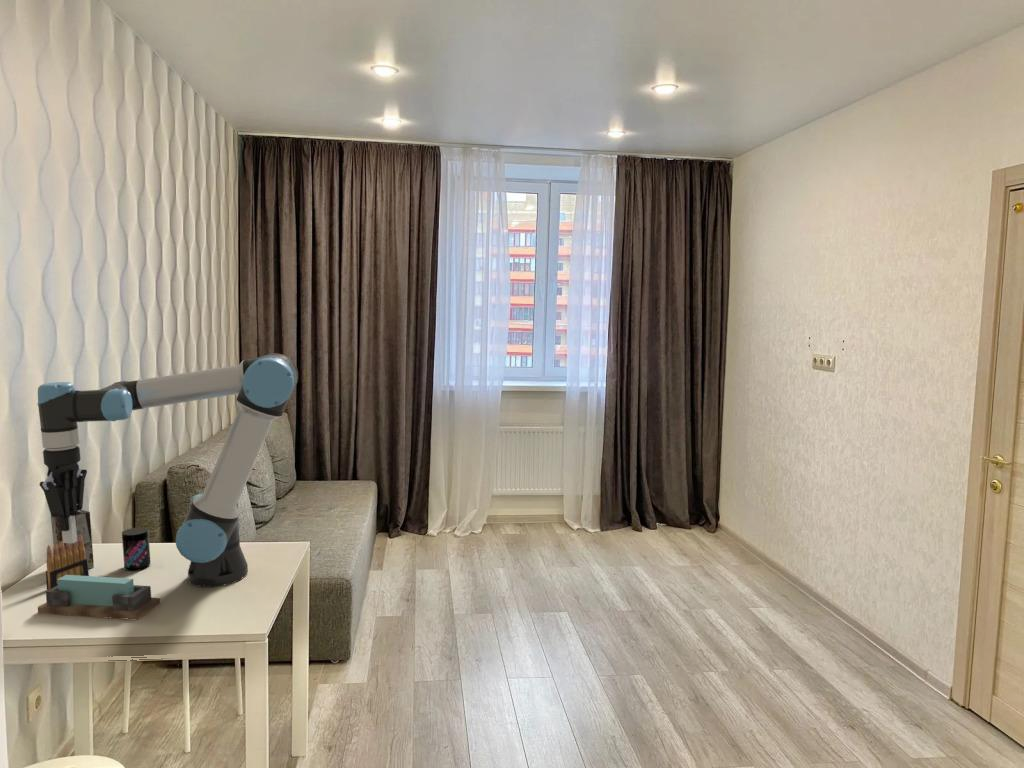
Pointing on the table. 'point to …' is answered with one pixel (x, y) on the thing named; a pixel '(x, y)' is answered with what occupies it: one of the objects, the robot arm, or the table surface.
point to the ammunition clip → (65, 562)
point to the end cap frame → (122, 606)
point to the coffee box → (82, 529)
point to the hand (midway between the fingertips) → (70, 542)
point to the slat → (94, 589)
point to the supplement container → (136, 548)
